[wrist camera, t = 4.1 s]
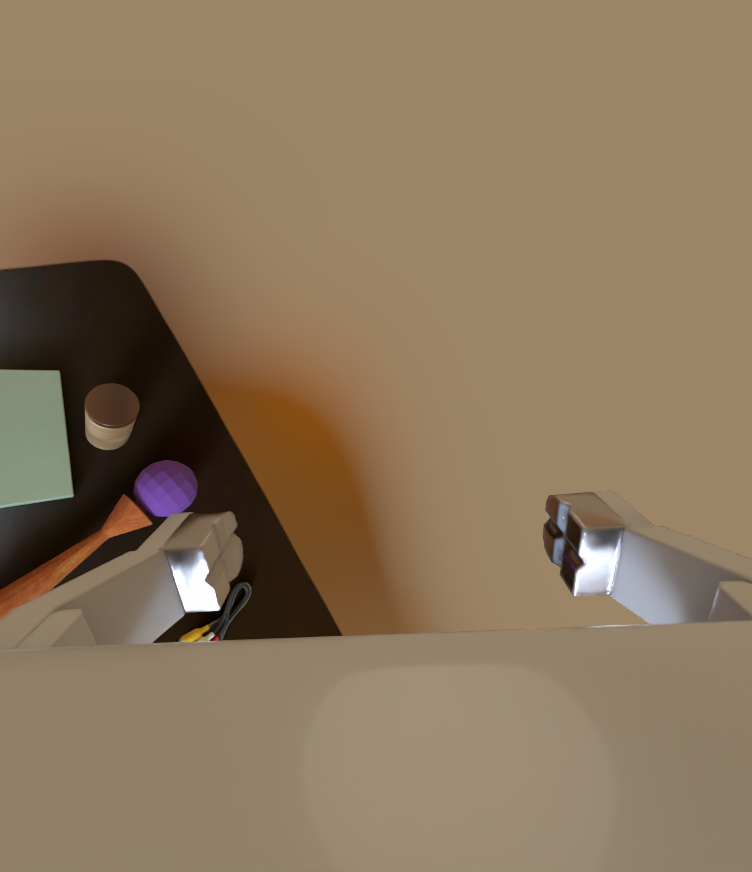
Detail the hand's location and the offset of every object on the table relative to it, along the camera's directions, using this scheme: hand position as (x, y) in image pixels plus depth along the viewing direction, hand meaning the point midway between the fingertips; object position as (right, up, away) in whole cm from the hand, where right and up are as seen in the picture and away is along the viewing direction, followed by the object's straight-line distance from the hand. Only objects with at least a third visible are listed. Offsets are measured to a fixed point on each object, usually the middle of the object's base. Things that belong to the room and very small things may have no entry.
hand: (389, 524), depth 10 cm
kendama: (-29, -8, +29) cm, 41 cm away
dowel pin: (-30, +3, +31) cm, 43 cm away
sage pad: (-36, +2, +26) cm, 44 cm away
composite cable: (-18, -19, +33) cm, 43 cm away
